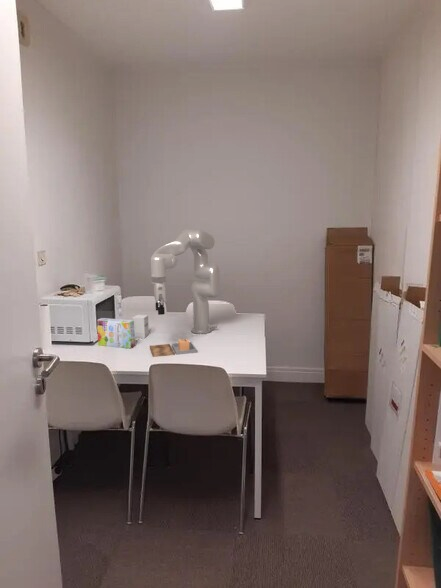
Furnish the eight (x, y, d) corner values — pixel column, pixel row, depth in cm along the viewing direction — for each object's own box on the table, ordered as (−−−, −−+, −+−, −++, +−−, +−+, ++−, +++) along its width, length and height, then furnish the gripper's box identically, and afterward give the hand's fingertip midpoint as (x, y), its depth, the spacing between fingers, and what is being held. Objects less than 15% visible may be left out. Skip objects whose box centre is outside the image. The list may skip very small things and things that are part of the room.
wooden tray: (169, 348, 245) (169, 343, 245) (174, 356, 232) (174, 351, 232) (149, 350, 243) (149, 345, 242) (152, 358, 229) (152, 353, 229)
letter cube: (187, 347, 243) (187, 338, 242) (189, 350, 239) (189, 341, 238) (178, 348, 242) (178, 339, 241) (180, 351, 237) (179, 342, 236)
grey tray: (191, 346, 248) (191, 341, 248) (196, 354, 235) (196, 349, 235) (171, 348, 246) (171, 343, 245) (176, 356, 232) (175, 351, 232)
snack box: (135, 346, 250) (134, 319, 247) (130, 349, 245) (129, 322, 242) (103, 342, 257) (101, 317, 254) (97, 345, 252) (95, 319, 249)
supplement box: (144, 338, 264) (143, 317, 261) (133, 338, 265) (132, 317, 263) (149, 335, 271) (148, 314, 268) (137, 334, 272) (136, 314, 270)
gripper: (168, 282, 222) (169, 315, 226) (163, 277, 239) (164, 308, 242) (153, 283, 220) (154, 316, 224) (149, 277, 237) (150, 309, 240)
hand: (160, 312), depth 233 cm, fingers open, 9 cm apart
